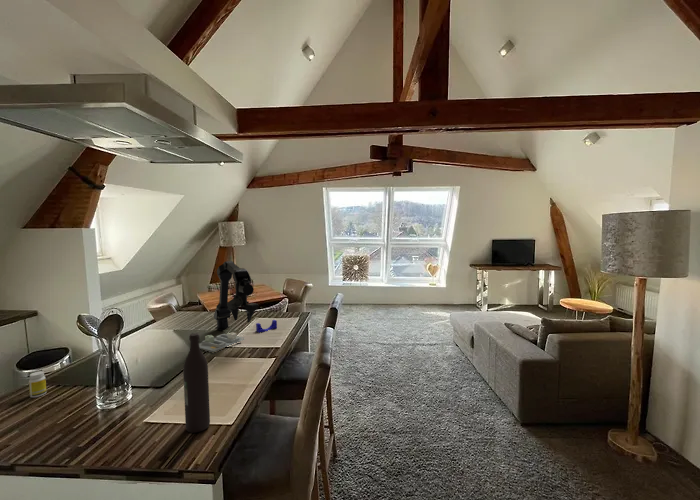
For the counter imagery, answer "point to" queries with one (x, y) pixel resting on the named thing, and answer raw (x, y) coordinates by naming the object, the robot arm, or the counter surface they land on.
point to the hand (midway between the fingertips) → (242, 321)
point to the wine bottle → (196, 388)
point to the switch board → (219, 343)
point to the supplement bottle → (37, 384)
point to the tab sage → (209, 338)
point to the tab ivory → (232, 335)
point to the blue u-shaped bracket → (273, 325)
